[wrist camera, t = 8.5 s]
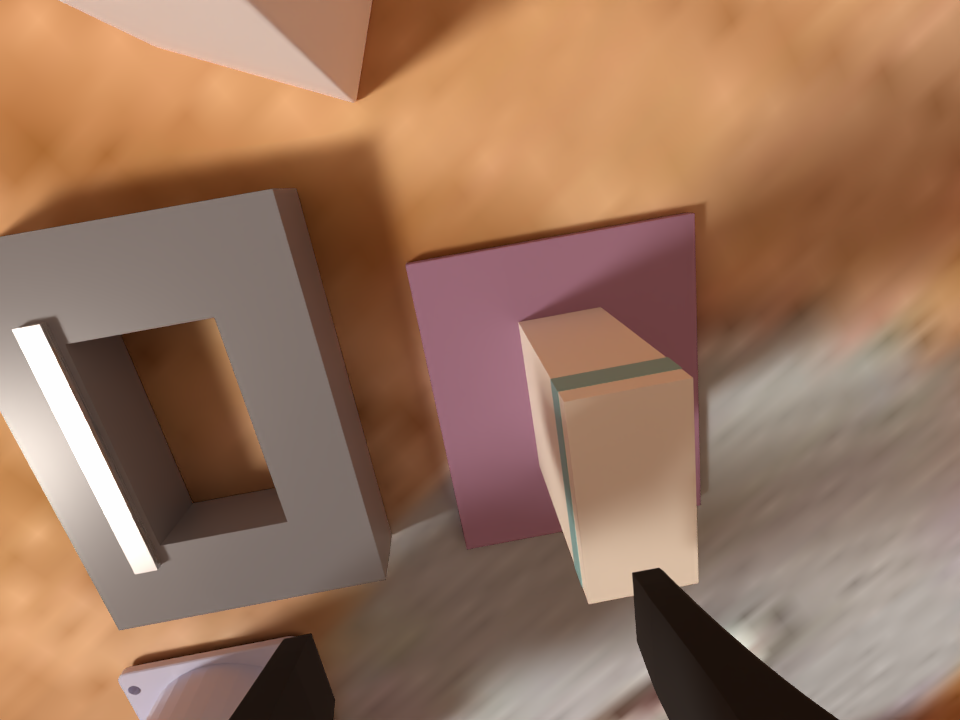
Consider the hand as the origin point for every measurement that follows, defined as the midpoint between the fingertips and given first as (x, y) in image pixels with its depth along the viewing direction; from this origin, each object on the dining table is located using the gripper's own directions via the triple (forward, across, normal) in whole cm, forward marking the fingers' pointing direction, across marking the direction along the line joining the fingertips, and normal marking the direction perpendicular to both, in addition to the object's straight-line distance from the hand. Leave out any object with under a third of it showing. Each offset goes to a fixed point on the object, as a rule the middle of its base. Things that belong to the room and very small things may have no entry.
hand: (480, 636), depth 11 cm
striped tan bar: (+9, -4, -2) cm, 10 cm away
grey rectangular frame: (+9, +9, -3) cm, 13 cm away
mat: (+9, -4, -1) cm, 10 cm away
